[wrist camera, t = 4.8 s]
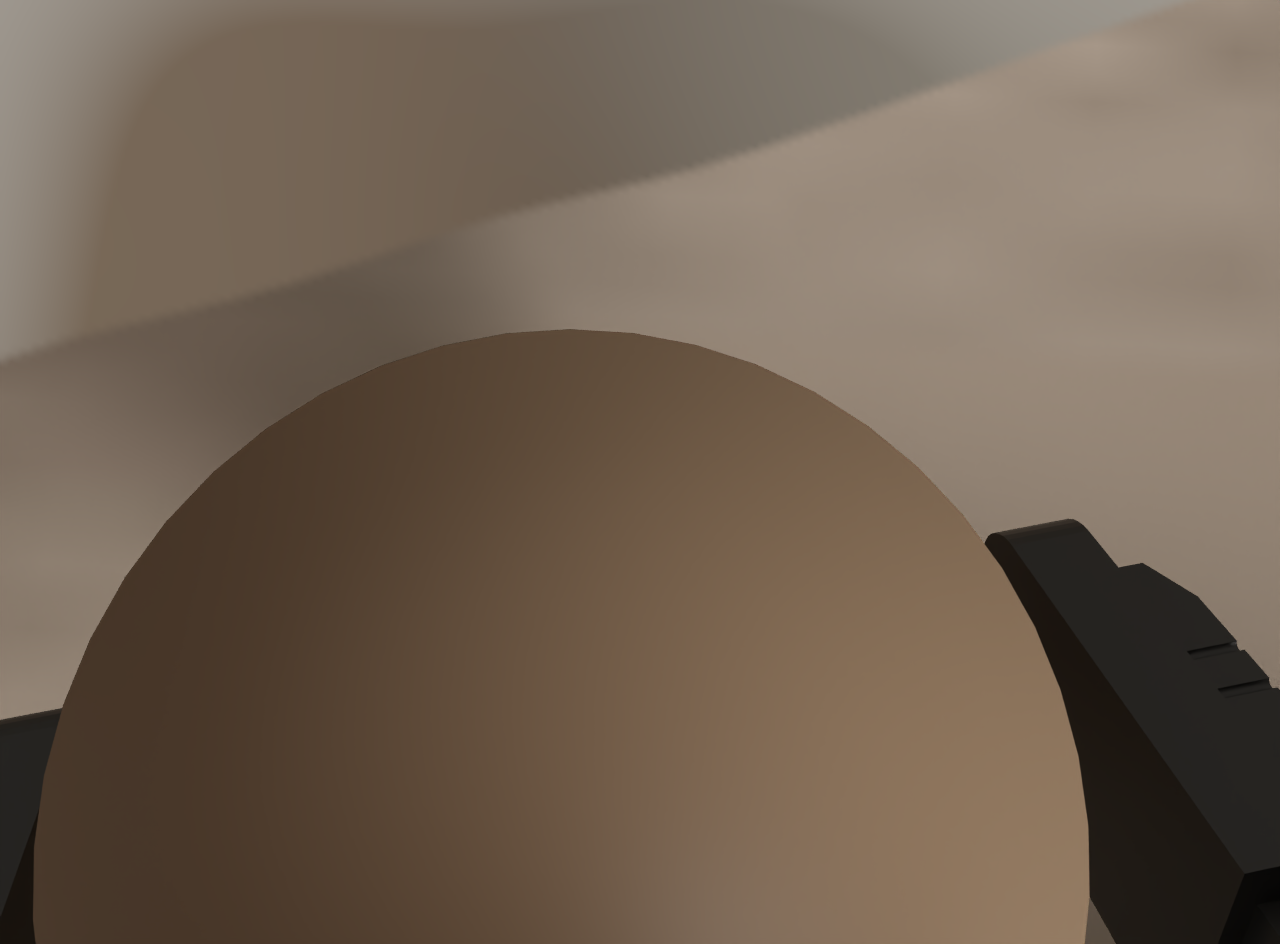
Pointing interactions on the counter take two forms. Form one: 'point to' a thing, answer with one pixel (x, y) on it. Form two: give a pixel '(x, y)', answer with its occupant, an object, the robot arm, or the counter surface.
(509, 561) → the walnut roller
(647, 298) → the counter surface
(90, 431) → the counter surface
